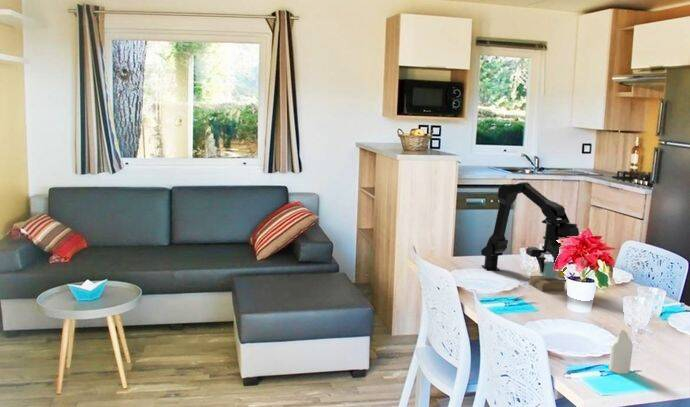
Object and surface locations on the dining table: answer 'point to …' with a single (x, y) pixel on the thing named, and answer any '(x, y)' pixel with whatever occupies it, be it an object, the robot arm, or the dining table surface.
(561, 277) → the supplement bottle
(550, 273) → the teal cube
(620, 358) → the beige bottle
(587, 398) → the dining table surface
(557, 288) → the walnut block
